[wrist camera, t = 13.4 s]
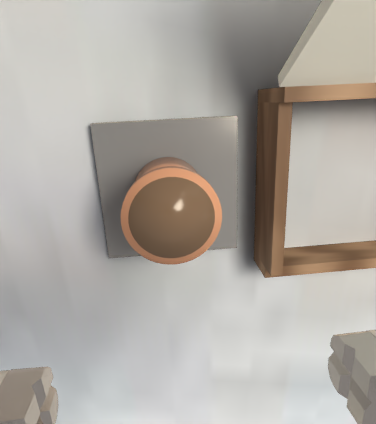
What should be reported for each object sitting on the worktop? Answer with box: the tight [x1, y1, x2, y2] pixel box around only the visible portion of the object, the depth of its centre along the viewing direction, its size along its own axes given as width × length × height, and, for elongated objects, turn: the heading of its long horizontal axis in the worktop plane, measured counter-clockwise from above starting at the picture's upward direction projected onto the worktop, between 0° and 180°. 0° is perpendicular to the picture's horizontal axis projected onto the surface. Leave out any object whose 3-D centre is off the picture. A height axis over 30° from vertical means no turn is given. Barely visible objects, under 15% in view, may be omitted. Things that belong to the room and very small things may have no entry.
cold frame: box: [254, 83, 376, 278], centre depth 28 cm, size 16×16×6 cm
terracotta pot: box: [121, 157, 222, 264], centre depth 25 cm, size 7×7×7 cm
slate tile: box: [90, 116, 237, 258], centre depth 29 cm, size 12×12×1 cm
